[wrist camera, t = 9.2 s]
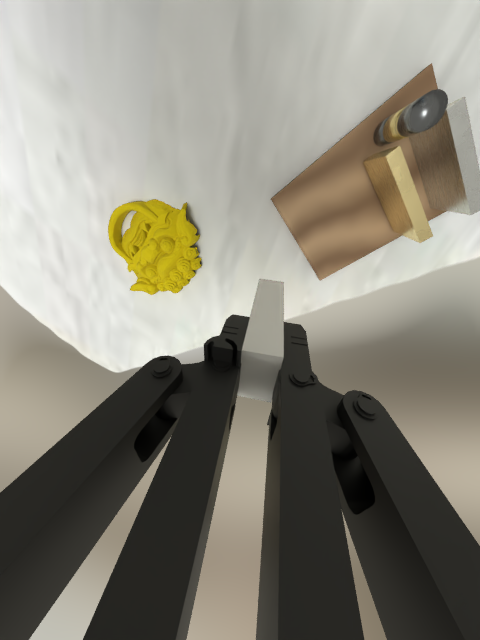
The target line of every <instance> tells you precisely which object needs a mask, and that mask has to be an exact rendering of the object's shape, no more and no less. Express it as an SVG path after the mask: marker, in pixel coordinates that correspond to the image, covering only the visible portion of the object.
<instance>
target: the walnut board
mask: <svg viewBox="0 0 480 640" xmlns="http://www.w3.org/2000/svg"><path fill="white" fill-rule="evenodd" d="M436 89H438V88H437V83H436V79H435V75H434V71H433V66H432V63H431V64H430V65H429V66H428V67H426V68H425V69H424V70H423V71H422V72H420V73H419V74H418V75H417V76H416V77H415V78H413V79H412V80H411V81H410V82H409V83H407V84H406V85H405V86H404V87H403V88H402V89H400V90H399V91H398V92H397V93H396V94H394V95H393V96H392V97H391V98H390V99H389V100H387V101H386V102H385V103H384V104H383V105H381V106H380V107H379V108H378V109H377V110H376V111H374V112H373V113H372V114H371V115H370V116H368V117H367V118H366V119H365V120H364V121H362V122H361V123H360V124H359V125H358V126H357V127H355V128H354V129H353V130H352V131H351V132H349V133H348V134H347V135H346V136H345V137H344V138H342V139H341V140H340V141H339V142H338V143H336V144H335V145H334V146H333V147H332V148H331V149H329V150H328V151H327V152H326V153H325V154H323V155H322V156H321V157H320V158H319V159H318V160H316V161H315V162H314V163H313V164H312V165H310V166H309V167H308V168H307V169H306V170H305V171H303V172H302V173H301V174H300V175H299V176H297V177H296V178H295V179H294V180H293V181H292V182H290V183H289V184H288V185H287V186H286V187H284V188H283V189H282V190H281V191H280V192H278V193H277V194H276V195H275V196H274V197H273V198H271V200H272V202H273V203H274V205H275V207H276V208H277V210H278V212H279V213H280V215H281V217H282V218H283V220H284V222H285V223H286V225H287V227H288V228H289V230H290V232H291V233H292V235H293V237H294V238H295V240H296V242H297V243H298V245H299V247H300V248H301V250H302V251H303V253H304V255H305V256H306V258H307V260H308V261H309V263H310V265H311V266H312V268H313V270H314V271H315V273H316V275H317V276H318V278H319V280H322V279H324V278H325V277H327V276H329V275H331V274H333V273H335V272H336V271H338V270H340V269H342V268H344V267H346V266H347V265H349V264H351V263H353V262H355V261H356V260H358V259H360V258H362V257H364V256H366V255H367V254H369V253H371V252H373V251H375V250H376V249H378V248H380V247H382V246H384V245H386V244H387V243H389V242H391V241H393V240H395V239H397V238H398V237H400V236H402V235H401V234H399V233H396V232H394V231H393V230H392V227H391V225H390V223H389V220H388V218H387V216H386V214H385V211H384V209H383V207H382V205H381V202H380V200H379V198H378V196H377V193H376V191H375V189H374V186H373V184H372V182H371V180H370V177H369V175H368V173H367V171H366V168H365V166H364V164H363V162H364V161H365V160H366V159H367V158H369V157H370V156H371V155H372V154H375V153H378V152H381V151H384V150H387V149H390V148H393V147H396V146H399V145H400V147H401V150H402V152H403V155H404V158H405V161H406V163H407V166H408V169H409V171H410V174H411V177H412V180H413V182H414V185H415V188H416V191H417V193H418V196H419V199H420V202H421V204H422V207H423V210H424V213H425V215H426V218H427V221H429V220H431V219H433V218H435V217H437V216H438V215H440V214H442V213H444V212H446V211H444V210H438V209H433V208H430V206H429V202H428V199H427V196H426V193H425V189H424V186H423V183H422V179H421V176H420V173H419V170H418V166H417V163H416V160H415V156H414V153H413V150H412V147H411V143H410V140H409V137H407V138H404V139H401V140H398V141H396V142H393V143H390V144H388V145H385V146H377V145H376V144H375V143H374V140H373V135H374V131H375V129H376V127H377V126H378V125H379V123H380V122H382V121H383V120H385V119H386V118H388V117H389V116H391V115H393V114H394V113H396V112H397V111H399V110H401V109H402V108H404V107H405V106H407V105H409V104H410V103H412V102H413V101H415V100H417V99H418V98H420V97H421V96H423V95H425V94H426V93H428V92H430V91H432V90H436Z"/></svg>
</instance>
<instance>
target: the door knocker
mask: <svg viewBox="0 0 480 640" xmlns="http://www.w3.org/2000/svg"><path fill="white" fill-rule="evenodd" d="M186 208H187V203H184V204H183V207H182V209H181V210H179V209H175V208H173V207H172V208H171V206H170V205H168V204H165V203H164V202H162V201H158V200H156V199H153V200H150V201H147V202H143V201H136V202H131V203H127V204H123V205H122V206H120V207H118V208H116V209H115V210H114V212H113V213H112V215H111V218H110V220H109V226H108V233H109V240H110V243H111V246H112V247H113V249H114V250H115V251H116V252H117V253H118V254H119V255H120V256H121V257H123V258H124V259H125V260H126V262H127V263H128V270H129V272H131V270H133V271H134V273H135V274H136V276H137V277H138V279H137V283H136V284H134V285H132V286H131V289H130V290H131V291H144V292H146V293H148V294H151V295H153V294H155V293H157V292H158V291H159V290H160V291H167V290H169V291H172V292H173V293H178V292H179V291H180V290H181V289H182V288H183V286H186V285H187V284H188V283H189V282H190V280H189V282H188V279H191V278H193V277H194V276H195V274H196V273H195V272H194V271H192V270H198V269H199V268H200V267H201V266H202V265H200V262H201V258H196V257H197V256H198V255H199V253H200V252H199V253H198V250H197V247H195V248H190V246H192V245H194V244H195V243H196V242H197V241H198V239H199V237H200V235H199V236H196V235H195V234H196V233H197V229H196V228H195V227H194V225H192V224H190V222H189V221H187V220H186V216H185V215H186ZM132 210H134V211H137V212H136V213H135V214H134V216H133V218H132V220H131V226H130V228H129V229H128V230H127V231H126V232H125V234H124V235H123V238H122V235H121V229H122V223H123V221H124V219H125V217H126V215H127V214H128V213H129V212H130V211H132ZM195 249H196V250H197V254H196V250H195ZM194 258H196V259H194ZM198 260H199V261H200V262H199V261H198Z"/></svg>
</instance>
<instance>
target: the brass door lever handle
mask: <svg viewBox="0 0 480 640" xmlns="http://www.w3.org/2000/svg"><path fill="white" fill-rule="evenodd" d="M407 106H408V105H407ZM407 106H405V107H404V108H402V109H401V110H399V111H397V112H396V113H394V114H393V115H392V116H390V118H389V119H388V120H387V121H386V123H385V125H384V128H383V137H384V139H385V140H386V141H387V142H396V141H398V140H401V139H404V138H407V137H404V136H401V135H400V134H399V132H398V130H397V122H398V119H399V116H400V114H401V113H402V111H403V110H404V109H405V108H406V107H407ZM363 164H364V166H365V168H366V171H367V173H368V175H369V177H370V180H371V182H372V184H373V186H374V189H375V191H376V193H377V196H378V198H379V200H380V202H381V205H382V207H383V209H384V211H385V214H386V216H387V218H388V220H389V223H390V225H391V227H392V230H393V231H394V232H396V233H399V234H401V235H403V236H405V237H408V238H410V239H412V240H414V241H417V242H419V243H421V242H423V241H425V240H427V239H429V238H430V237H432V236H433V235H432V232H431V229H430V226H429V224H428V221H427V218H426V215H425V213H424V210H423V207H422V204H421V202H420V199H419V196H418V193H417V191H416V188H415V185H414V182H413V180H412V177H411V174H410V171H409V169H408V166H407V163H406V161H405V158H404V155H403V152H402V150H401V147H400V145H399V146H396V147H393V148H390V149H387V150H384V151H381V152H378V153H375V154H372V155H371V156H370V157H369V158H367V159H366V160H365V161H364V162H363Z"/></svg>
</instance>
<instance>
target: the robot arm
mask: <svg viewBox="0 0 480 640" xmlns="http://www.w3.org/2000/svg"><path fill="white" fill-rule="evenodd" d="M204 358H205V359H204V361H202V362H199V363H194V364H182V365H181V363H180V361H179V360H178V359H176V358H175V357H172V356H160V357H157V358H154V359H152V360H151V361H149V362H148V363H147V364H145V365H144V366H143V367H142V368H141V369H140V370H139V371H138V372H136V373H135V374H134V375H133V376H132V377H131V378H130V379H129V380H127V381H126V382H125V383H124V384H123V385H122V386H121V387H119V388H118V389H117V390H116V391H115V392H114V393H113V394H112V395H110V396H109V397H108V398H107V399H106V400H105V401H104V402H102V403H101V404H100V405H99V406H98V407H97V408H96V409H95V410H93V411H92V412H91V413H90V414H89V415H88V416H87V417H86V418H84V419H83V420H82V421H81V422H80V423H79V424H78V425H77V426H75V427H74V428H73V429H72V430H71V431H70V432H69V433H68V434H66V435H65V436H64V437H63V438H62V439H61V440H60V441H58V442H57V443H56V444H55V445H54V446H53V447H52V448H51V449H49V450H48V451H47V452H46V453H45V454H44V455H43V456H42V457H40V458H39V459H38V460H37V461H36V462H35V463H34V464H32V465H31V466H30V467H29V468H28V469H27V470H26V471H25V472H23V473H22V474H21V475H20V476H19V477H18V478H17V479H16V480H14V481H13V482H12V483H11V484H10V485H9V486H8V487H6V488H5V489H4V490H3V491H2V492H1V493H0V640H29V638H30V637H31V636H32V634H33V633H34V631H35V630H36V628H37V627H38V626H39V624H40V623H41V621H42V620H43V618H44V617H45V616H46V614H47V613H48V611H49V610H50V608H51V607H52V606H53V604H54V603H55V601H56V600H57V598H58V597H59V596H60V594H61V593H62V591H63V590H64V588H65V587H66V586H67V584H68V583H69V581H70V580H71V579H72V577H73V576H74V574H75V573H76V571H77V570H78V569H79V567H80V566H81V564H82V563H83V561H84V560H85V559H86V557H87V556H88V554H89V553H90V551H91V550H92V549H93V547H94V546H95V544H96V543H97V541H98V540H99V539H100V537H101V536H102V534H103V533H104V531H105V530H106V529H107V527H108V526H109V524H110V523H111V521H112V520H113V519H114V517H115V515H116V514H117V513H118V511H119V510H120V509H121V507H122V506H123V504H124V503H125V501H126V500H127V498H128V497H129V496H130V494H131V493H132V491H133V490H134V489H135V487H136V486H137V484H138V483H139V481H140V480H141V478H142V477H143V476H144V474H145V473H146V471H147V470H148V469H149V467H150V466H151V464H152V463H153V461H154V460H155V459H156V457H157V456H158V454H159V453H160V451H161V450H162V449H163V447H164V446H165V444H166V443H167V441H168V440H169V439H170V437H171V436H172V437H171V439H170V442H169V444H168V446H167V448H166V451H165V453H164V455H163V457H162V460H161V462H160V464H159V467H158V469H157V471H156V474H155V476H154V478H153V481H152V483H151V485H150V487H149V489H148V492H147V494H146V497H145V499H144V501H143V503H142V505H141V508H140V510H139V512H138V515H137V517H136V519H135V521H134V524H133V526H132V529H131V531H130V533H129V535H128V537H127V540H126V542H125V545H124V547H123V549H122V551H121V554H120V556H119V558H118V560H117V563H116V565H115V568H114V570H113V572H112V574H111V576H110V579H109V581H108V583H107V586H106V588H105V590H104V592H103V595H102V597H101V599H100V602H99V604H98V606H97V608H96V611H95V613H94V616H93V618H92V620H91V622H90V625H89V627H88V629H87V631H86V634H85V636H84V638H83V640H186V638H187V634H188V628H189V624H190V619H191V615H192V609H193V605H194V600H195V596H196V591H197V586H198V581H199V576H200V572H201V567H202V562H203V558H204V553H205V548H206V543H207V539H208V534H209V529H210V524H211V520H212V515H213V510H214V506H215V501H216V496H217V491H218V487H219V481H220V477H221V472H222V467H223V462H224V458H225V453H226V449H227V444H228V439H229V434H230V429H231V425H232V420H233V415H234V410H235V403H236V398H237V396H242V397H247V398H252V399H257V400H261V401H267V402H271V401H272V409H271V413H270V416H269V419H268V423H267V425H269V436H268V453H267V468H266V484H265V501H264V518H263V534H262V550H261V566H260V582H259V599H258V614H257V631H256V640H364V636H363V630H362V625H361V619H360V613H359V607H358V602H357V596H356V590H355V584H354V578H353V573H352V567H351V561H350V555H349V550H348V544H347V538H346V533H345V527H344V521H343V516H342V512H343V515H344V518H345V521H346V523H347V526H348V529H349V532H350V535H351V538H352V541H353V543H354V546H355V549H356V552H357V555H358V558H359V560H360V563H361V566H362V569H363V572H364V574H365V578H366V581H367V583H368V586H369V589H370V592H371V595H372V598H373V601H374V603H375V606H376V609H377V612H378V615H379V618H380V621H381V623H382V626H383V629H384V632H385V635H386V638H387V640H480V546H479V544H478V543H477V541H476V540H475V539H474V537H473V536H472V534H471V533H470V531H469V530H468V528H467V527H466V526H465V524H464V523H463V521H462V520H461V518H460V517H459V515H458V514H457V513H456V511H455V510H454V508H453V507H452V505H451V504H450V502H449V501H448V500H447V498H446V497H445V495H444V494H443V492H442V491H441V490H440V488H439V486H438V485H437V483H436V482H435V481H434V479H433V478H432V476H431V475H430V473H429V472H428V470H427V469H426V467H425V466H424V465H423V463H422V462H421V460H420V459H419V457H418V456H417V454H416V453H415V452H414V450H413V449H412V447H411V446H410V444H409V443H408V441H407V440H406V439H405V437H404V436H403V434H402V433H401V431H400V430H399V428H398V427H397V426H396V424H395V423H394V421H393V420H392V418H391V417H390V415H389V414H388V412H387V411H386V409H385V408H384V407H383V406H382V405H381V403H380V402H379V401H378V400H376V399H375V398H374V397H372V396H371V395H369V394H366V393H364V392H362V391H356V390H353V391H349V392H347V393H346V394H345V395H342V394H340V393H338V392H335V391H333V390H331V389H329V388H327V387H325V386H324V385H322V384H321V383H320V382H319V381H318V378H317V376H316V375H315V374H314V373H313V372H312V369H311V363H310V356H309V349H308V343H307V336H306V331H305V330H304V329H303V327H302V326H301V325H299V324H292V323H286V322H284V282H279V281H272V280H265V279H259V283H258V287H257V291H256V295H255V299H254V303H253V307H252V311H251V315H250V317H245V316H239V315H231V316H230V317H229V318H228V319H226V322H225V324H224V327H223V329H222V332H221V334H220V336H216V337H212V338H210V339H209V340H207V341H206V343H205V344H204ZM341 509H342V510H341Z"/></svg>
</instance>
